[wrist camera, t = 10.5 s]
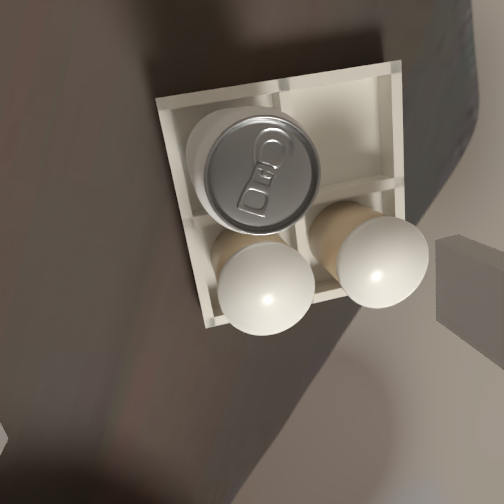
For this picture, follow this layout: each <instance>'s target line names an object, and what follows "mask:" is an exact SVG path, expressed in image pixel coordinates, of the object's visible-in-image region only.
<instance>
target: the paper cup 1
mask: <svg viewBox="0 0 504 504" xmlns="http://www.w3.org/2000/svg"><path fill="white" fill-rule="evenodd" d="M211 263H212V267H213V271H214V274H215V278H216V281H217V295H218V300H219V304H220V307H221V310H222V312H223V314H224V316H225V317H226V319H227V320H228V321H229V322H230V323H231V324H232V325H233V326H234V327H236V328H237V329H239V330H241V331H243V332H245V333H248V334H252V335H272V334H276V333H279V332H282V331H284V330H286V329H288V328H290V327H292V326H293V325H294V324H296V323H297V322H298V321H299V320H300V319H301V318H302V317H303V316H304V315H305V313H306V312H307V310H308V309H309V307H310V305H311V303H312V300H313V296H314V291H315V280H314V275H313V272H312V269H311V267H310V265H309V264H308V262H307V261H306V260H305V259H304V257H303V256H302V255H301V254H300V253H299V252H298V251H296V250H295V249H294V248H292V247H291V246H289V245H288V244H287V243H286V242H285V241H284V240H283V239H282V238H281V237H280V236H279V235H278V234H277V233H275V234H271V235H250V234H243V233H239V232H235V231H233V230H230V229H228V228H225V229H224V230H223V231H222V232H221V233H220V234H219V235H218V237H217V238H216V240H215V242H214V244H213V247H212V251H211Z"/></svg>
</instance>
